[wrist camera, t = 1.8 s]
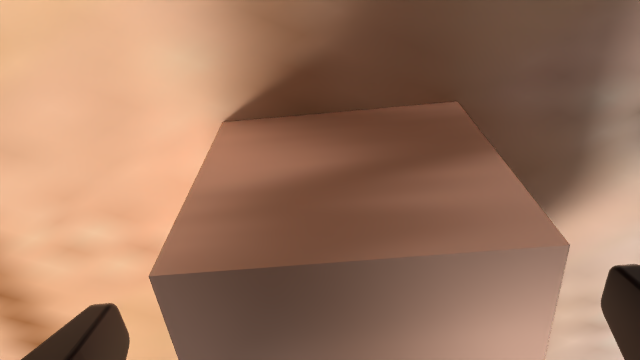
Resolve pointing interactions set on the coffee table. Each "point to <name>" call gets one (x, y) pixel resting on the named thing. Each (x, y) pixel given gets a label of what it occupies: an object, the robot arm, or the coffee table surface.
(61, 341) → the robot arm
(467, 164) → the terracotta cube
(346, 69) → the coffee table surface
